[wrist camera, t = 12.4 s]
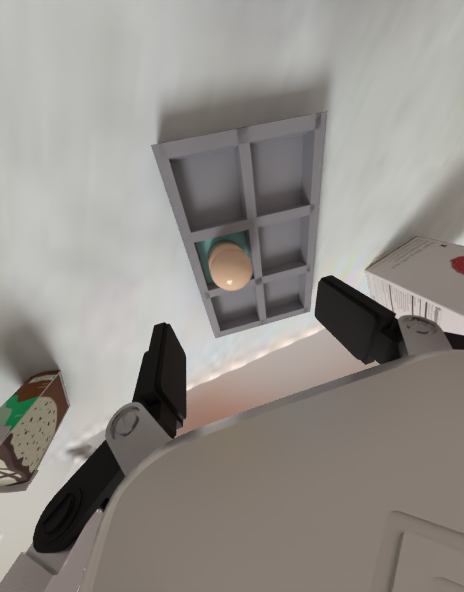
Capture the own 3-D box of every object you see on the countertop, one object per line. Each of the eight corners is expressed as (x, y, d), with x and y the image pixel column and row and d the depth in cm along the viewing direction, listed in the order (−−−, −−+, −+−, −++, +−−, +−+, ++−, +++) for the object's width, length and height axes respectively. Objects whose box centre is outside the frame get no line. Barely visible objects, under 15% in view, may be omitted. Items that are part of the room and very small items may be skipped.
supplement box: (417, 233, 26) (624, 272, 14) (418, 275, 31) (572, 332, 18) (362, 269, 28) (504, 334, 15) (371, 304, 32) (484, 375, 20)
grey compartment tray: (156, 151, 16) (151, 145, 14) (309, 121, 17) (326, 111, 15) (213, 327, 28) (215, 338, 26) (301, 302, 29) (310, 311, 27)
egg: (202, 244, 20) (207, 262, 15) (239, 235, 20) (256, 250, 15) (212, 277, 22) (218, 303, 17) (244, 269, 23) (260, 292, 18)
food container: (1, 363, 23) (-104, 458, 15) (58, 363, 25) (-7, 449, 17) (26, 412, 29) (-41, 503, 21) (71, 410, 31) (26, 492, 22)
